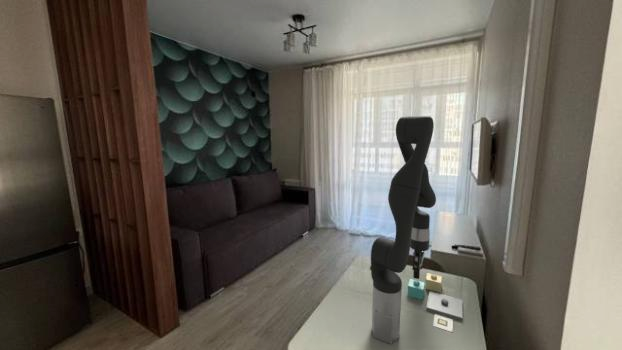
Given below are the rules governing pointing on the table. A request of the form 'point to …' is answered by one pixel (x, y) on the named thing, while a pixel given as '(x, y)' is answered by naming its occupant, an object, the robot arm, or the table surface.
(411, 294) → the teal brick
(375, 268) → the robot arm
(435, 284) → the yellow knobbed block
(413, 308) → the table surface
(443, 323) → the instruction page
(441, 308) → the plate
